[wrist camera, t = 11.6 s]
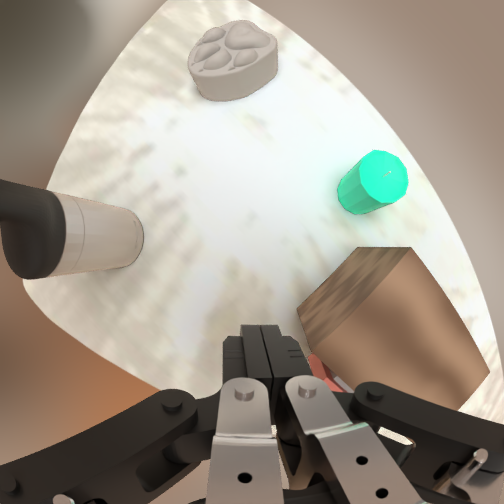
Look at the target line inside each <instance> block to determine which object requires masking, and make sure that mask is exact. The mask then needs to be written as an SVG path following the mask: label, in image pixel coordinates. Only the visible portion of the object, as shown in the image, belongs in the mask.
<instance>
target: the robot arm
mask: <svg viewBox="0 0 504 504" xmlns="http://www.w3.org/2000/svg"><path fill="white" fill-rule="evenodd" d="M0 228H1V236H2V245H3V250H4V254H5V257H6V260H7V262H8V264H9V266H10V268H11V269H12V270H13V272H14V273H15V274H16V275H18V276H19V277H21V278H23V279H39V278H46V277H54V276H60V275H68V274H75V273H83V272H90V271H98V270H105V269H114V268H121V267H125V266H128V265H130V264H131V263H133V262H134V260H135V259H136V258H137V257H138V255H139V254H140V251H141V249H142V245H143V229H142V226H141V223H140V221H139V219H138V218H137V216H136V215H135V214H134V213H132V212H131V211H129V210H126V209H123V208H119V207H115V206H111V205H107V204H103V203H99V202H95V201H91V200H86V199H82V198H78V197H74V196H70V195H65V194H61V193H56V192H52V191H48V190H44V189H39V188H34V187H30V186H26V185H21V184H17V183H13V182H9V181H5V180H2V179H0ZM271 425H276V429H277V433H276V438H275V437H272V430H271ZM380 427H384V428H386V429H388V430H391V431H393V432H395V433H398V434H400V435H403V436H405V437H408V438H410V439H412V440H413V441H414V443H413V444H411V445H405V444H402V443H399V442H397V441H395V440H392V439H390V438H387V437H385V436H383V435H381V434H378V431H379V429H380ZM278 451H279V454H280V457H281V460H282V463H283V466H284V469H285V472H286V475H287V478H288V482H289V490H288V489H282V482H281V472H280V464H279V455H278ZM208 459H210V468H209V477H208V486H207V495H206V498H203V499H199V500H197V501H194V502H191V503H189V504H498V503H499V499H500V495H501V491H502V487H503V481H504V425H503V424H499V423H496V422H492V421H488V420H485V419H481V418H478V417H475V416H471V415H468V414H465V413H462V412H459V411H455V410H452V409H449V408H446V407H443V406H441V405H438V404H435V403H432V402H429V401H426V400H424V399H421V398H418V397H416V396H413V395H410V394H408V393H405V392H402V391H400V390H397V389H395V388H392V387H390V386H387V385H385V384H382V383H379V382H373V381H369V382H363V383H361V384H359V385H358V386H357V387H356V388H355V390H354V393H346V392H336V391H331V390H330V388H329V387H328V385H327V384H326V383H325V382H324V381H323V380H321V379H319V378H317V377H314V375H313V373H312V371H311V369H310V367H309V365H308V363H307V360H306V358H305V357H304V354H303V352H302V351H301V348H300V346H299V343H298V342H297V341H296V340H294V339H293V338H292V337H291V336H282V335H281V332H280V330H279V327H278V325H260V326H259V325H241V328H240V336H228V337H227V338H226V339H225V341H224V342H223V385H222V388H221V389H220V390H219V391H218V392H217V393H216V394H214V395H212V396H210V397H206V398H201V399H196V400H195V398H194V397H193V396H192V395H191V394H189V393H188V392H185V391H183V390H178V389H166V390H162V391H159V392H157V393H155V394H154V395H152V396H150V397H148V398H146V399H145V400H143V401H141V402H139V403H137V404H136V405H134V406H132V407H130V408H128V409H126V410H125V411H123V412H121V413H119V414H117V415H115V416H113V417H111V418H109V419H107V420H105V421H103V422H101V423H99V424H97V425H95V426H93V427H91V428H90V429H87V430H85V431H83V432H81V433H79V434H77V435H75V436H73V437H70V438H68V439H66V440H64V441H61V442H59V443H57V444H55V445H52V446H50V447H48V448H46V449H43V450H41V451H38V452H35V453H33V454H31V455H28V456H25V457H23V458H20V459H17V460H15V461H12V462H9V463H6V464H3V465H1V466H0V504H148V503H150V502H151V501H152V500H154V499H155V498H157V497H158V496H160V495H161V494H162V493H164V492H165V491H166V490H168V489H169V488H171V487H172V486H173V485H175V484H176V483H177V482H179V481H180V480H181V479H183V478H184V477H185V476H186V475H187V474H189V473H190V472H191V471H193V470H194V469H195V468H196V467H197V466H199V464H200V463H201V461H203V460H208Z"/></svg>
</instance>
